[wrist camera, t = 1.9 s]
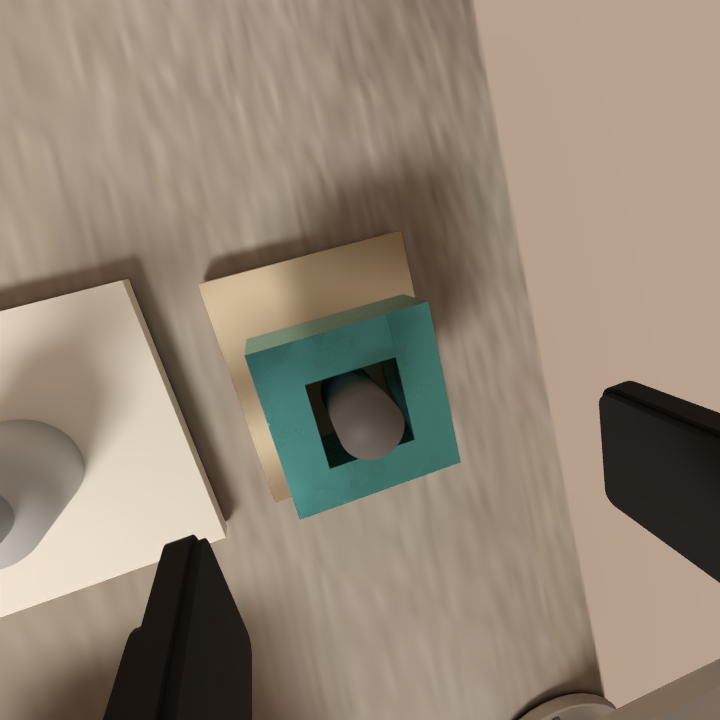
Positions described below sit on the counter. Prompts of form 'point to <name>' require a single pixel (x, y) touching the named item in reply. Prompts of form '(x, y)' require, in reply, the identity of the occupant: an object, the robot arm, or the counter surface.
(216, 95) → the counter surface
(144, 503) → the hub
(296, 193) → the counter surface
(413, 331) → the teal square frame
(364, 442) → the stand
